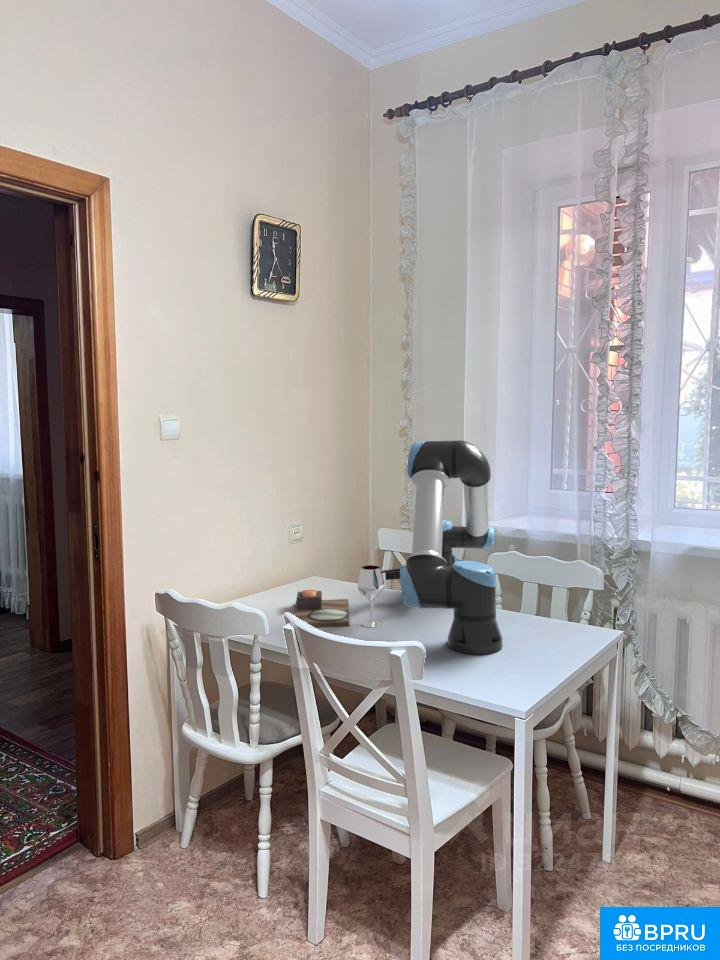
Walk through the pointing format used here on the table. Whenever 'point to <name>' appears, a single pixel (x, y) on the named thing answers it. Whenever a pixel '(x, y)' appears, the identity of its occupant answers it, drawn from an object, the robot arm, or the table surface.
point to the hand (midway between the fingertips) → (389, 584)
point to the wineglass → (371, 589)
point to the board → (322, 611)
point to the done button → (309, 593)
